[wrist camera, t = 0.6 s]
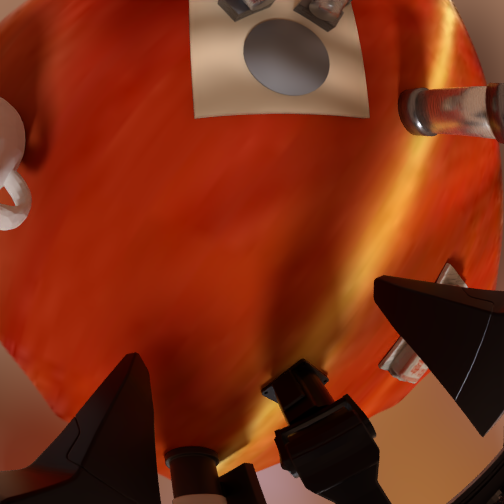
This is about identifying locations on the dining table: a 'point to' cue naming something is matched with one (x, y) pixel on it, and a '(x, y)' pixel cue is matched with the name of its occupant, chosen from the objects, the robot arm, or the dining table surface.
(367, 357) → the dining table surface
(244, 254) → the dining table surface
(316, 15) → the shaft
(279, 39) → the board
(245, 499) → the light fixture
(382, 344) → the dining table surface
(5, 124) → the mug
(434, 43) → the dining table surface
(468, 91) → the drinking glass
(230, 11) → the shaft
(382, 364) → the packaged product
